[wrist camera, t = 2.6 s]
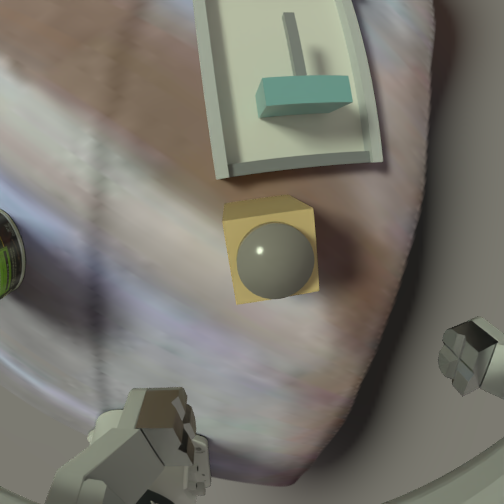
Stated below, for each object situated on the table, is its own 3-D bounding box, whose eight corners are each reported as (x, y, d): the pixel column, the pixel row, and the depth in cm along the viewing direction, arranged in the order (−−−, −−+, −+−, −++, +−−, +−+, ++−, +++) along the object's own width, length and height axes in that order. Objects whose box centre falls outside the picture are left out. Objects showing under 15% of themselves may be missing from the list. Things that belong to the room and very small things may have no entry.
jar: (294, 254, 27) (323, 297, 18) (234, 264, 27) (237, 311, 18) (287, 194, 25) (318, 211, 17) (224, 203, 25) (222, 224, 16)
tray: (371, 161, 25) (391, 162, 21) (217, 178, 24) (215, 180, 21) (333, -19, 19) (346, -37, 15) (192, -15, 18) (188, -36, 15)
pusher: (328, 113, 22) (353, 102, 17) (258, 118, 22) (266, 105, 17) (313, 31, 20) (331, 6, 15) (245, 33, 20) (249, 5, 15)
